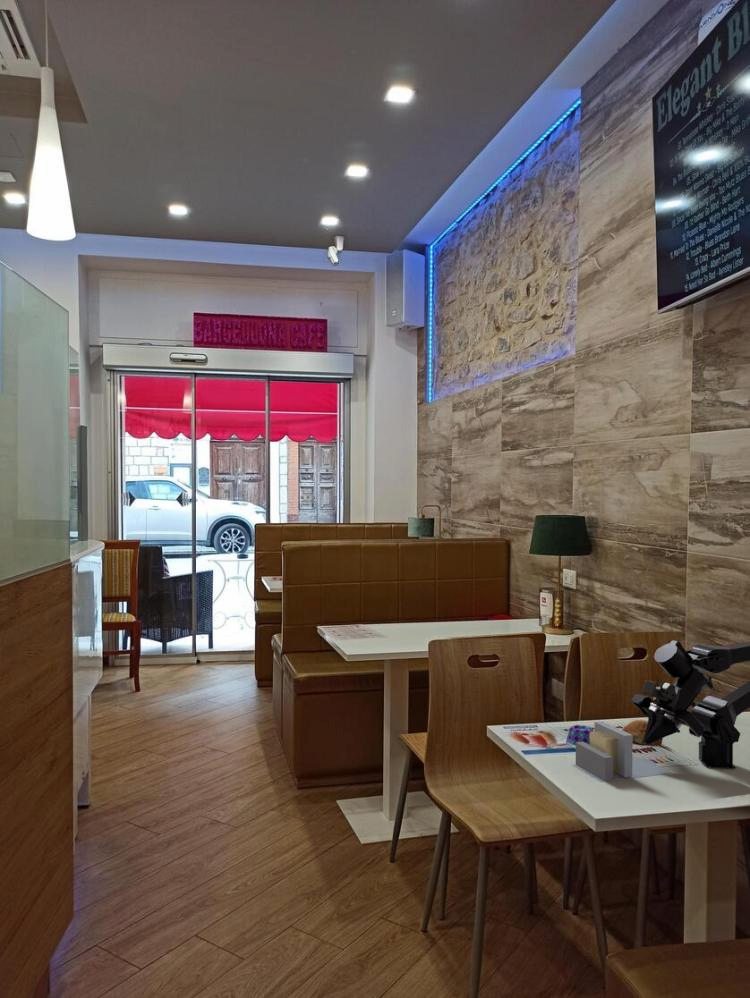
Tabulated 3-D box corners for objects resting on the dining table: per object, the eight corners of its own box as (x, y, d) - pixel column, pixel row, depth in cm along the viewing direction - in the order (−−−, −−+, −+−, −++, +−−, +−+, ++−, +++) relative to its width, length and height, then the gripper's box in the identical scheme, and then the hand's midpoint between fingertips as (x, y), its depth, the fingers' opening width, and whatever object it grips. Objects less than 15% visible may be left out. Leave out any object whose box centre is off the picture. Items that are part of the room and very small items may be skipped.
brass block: (600, 765, 169) (601, 730, 169) (617, 775, 163) (617, 738, 163) (589, 767, 168) (589, 731, 168) (605, 776, 162) (605, 739, 162)
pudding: (613, 747, 188) (613, 726, 188) (596, 760, 178) (596, 738, 178) (567, 738, 195) (567, 718, 195) (549, 750, 185) (549, 728, 186)
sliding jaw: (601, 760, 172) (601, 721, 172) (632, 776, 161) (632, 735, 162) (594, 761, 171) (594, 721, 171) (624, 777, 161) (624, 735, 161)
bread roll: (666, 762, 187) (674, 731, 189) (643, 751, 182) (652, 719, 184) (632, 751, 195) (640, 722, 197) (610, 740, 190) (618, 710, 192)
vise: (641, 763, 175) (641, 735, 175) (673, 779, 165) (673, 750, 165) (571, 771, 169) (571, 742, 169) (600, 788, 159) (601, 758, 159)
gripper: (637, 659, 180) (598, 710, 176) (692, 676, 162) (651, 732, 158) (664, 689, 182) (627, 739, 179) (722, 709, 164) (682, 765, 161)
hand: (645, 743), depth 169 cm, fingers closed
